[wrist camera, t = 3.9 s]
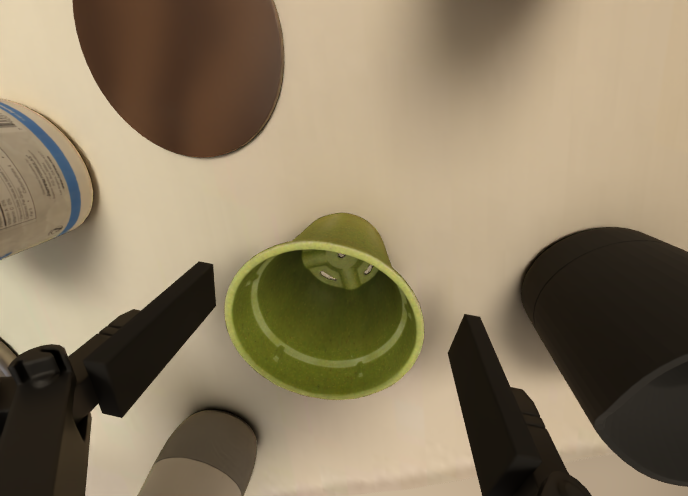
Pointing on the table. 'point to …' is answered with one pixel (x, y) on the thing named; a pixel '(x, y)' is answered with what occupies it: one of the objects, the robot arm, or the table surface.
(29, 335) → the table surface
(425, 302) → the table surface
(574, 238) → the pen holder
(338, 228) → the plant pot
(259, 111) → the coaster
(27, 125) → the supplement tub
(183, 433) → the smart speaker
